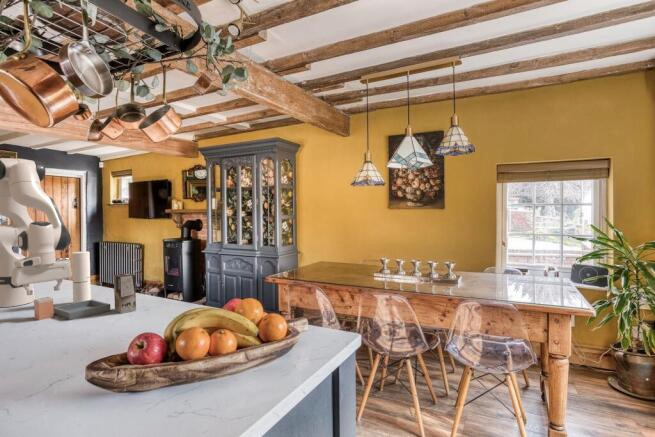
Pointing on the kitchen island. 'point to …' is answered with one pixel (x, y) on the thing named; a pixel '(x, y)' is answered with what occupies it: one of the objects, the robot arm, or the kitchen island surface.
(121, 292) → the coffee box
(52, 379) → the kitchen island surface
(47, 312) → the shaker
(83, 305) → the tray
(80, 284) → the cylindrical container
